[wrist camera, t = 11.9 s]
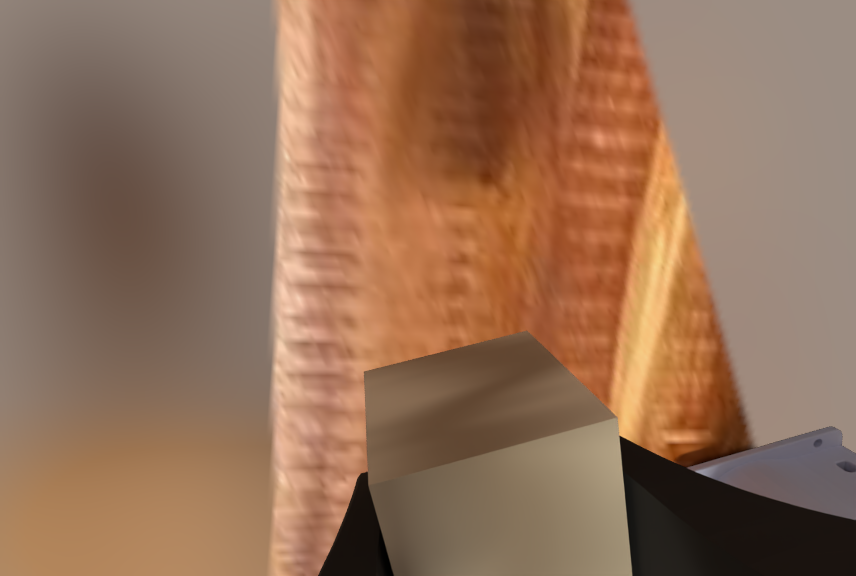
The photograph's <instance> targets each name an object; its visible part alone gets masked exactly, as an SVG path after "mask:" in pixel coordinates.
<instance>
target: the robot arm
mask: <svg viewBox="0 0 856 576" xmlns="http://www.w3.org/2000/svg"><path fill="white" fill-rule="evenodd" d="M619 439H620V449H621V460H622V471H623V481H624V492H625V502H626V513H627V524H628V534H629V545H630V555H631V566H632V576H856V453H854V452H852V451H851V450H849V449H847V448H845V447H844V446H842V433H841V431H840V430H838V429H836V428H835V427H826V428H823V429H819V430H816V431H812V432H809V433H805V434H802V435H798V436H795V437H792V438H789V439H785V440H781V441H778V442H774V443H771V444H768V445H764V446H760V447H757V448H753V449H750V450H746V451H743V452H739V453H736V454H732V455H729V456H725V457H722V458H719V459H715V460H712V461H708V462H705V463H701V464H698V465H694V466H691V467H687V468H686V467H683V466H681V465H679V464H676V463H674V462H672V461H670V460H667V459H665V458H663V457H661V456H659V455H657V454H655V453H653V452H651V451H649V450H647V449H644V448H642V447H641V446H639V445H637V444H635V443H633V442H631V441H629V440H627V439H625V438H623V437H621V436H619ZM318 576H394V574H393V570H392V567H391V563H390V560H389V556H388V553H387V549H386V546H385V542H384V539H383V535H382V532H381V528H380V525H379V521H378V517H377V514H376V510H375V507H374V503H373V500H372V496H371V493H370V489H369V486H368V472H365V473H361V474H360V476H359V477H358V479H357V482H356V486H355V489H354V492H353V495H352V498H351V501H350V504H349V506H348V509H347V512H346V514H345V517H344V519H343V522H342V524H341V527H340V529H339V532H338V534H337V536H336V539H335V541H334V543H333V546H332V548H331V550H330V552H329V554H328V556H327V558H326V560H325V562H324V564H323V567H322V569H321V571H320V573H319V575H318Z"/></svg>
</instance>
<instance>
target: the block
mask: <svg viewBox="0 0 856 576" xmlns="http://www.w3.org/2000/svg"><path fill="white" fill-rule="evenodd" d="M364 385H365V411H366V436H367V461H368V486H369V489H370V493H371V496H372V500H373V503H374V507H375V510H376V514H377V517H378V521H379V525H380V528H381V532H382V535H383V539H384V542H385V546H386V549H387V553H388V556H389V560H390V563H391V567H392V570H393V574H394V576H632V566H631V555H630V545H629V534H628V524H627V513H626V502H625V492H624V481H623V471H622V460H621V449H620V439H619V428H618V418H617V416H615V415H614V414H613V413H612V412H611V411H610V410H609V409H608V408H607V407H606V406H605V405H604V404H603V403H602V402H601V401H600V400H599V399H598V398H597V397H596V396H595V395H594V394H593V393H592V392H590V391H589V390H588V389H587V388H586V387H585V386H584V385H583V384H582V383H581V382H580V381H579V380H578V379H577V378H576V377H575V376H574V375H573V374H572V373H571V372H570V371H569V370H568V369H567V368H565V367H564V366H563V365H562V364H561V363H560V362H559V361H558V360H557V359H556V358H555V357H554V356H553V355H552V354H551V353H550V352H549V351H548V350H547V349H546V348H545V347H544V346H543V345H542V344H540V343H539V342H538V341H537V340H536V339H535V338H534V337H533V336H532V335H531V334H530V333H529V332H528V331H524V332H520V333H516V334H512V335H508V336H504V337H500V338H496V339H492V340H488V341H484V342H480V343H476V344H472V345H468V346H464V347H460V348H456V349H452V350H448V351H444V352H440V353H436V354H432V355H428V356H424V357H420V358H416V359H412V360H408V361H405V362H401V363H397V364H393V365H389V366H385V367H381V368H377V369H373V370H369V371H365V372H364Z"/></svg>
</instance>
